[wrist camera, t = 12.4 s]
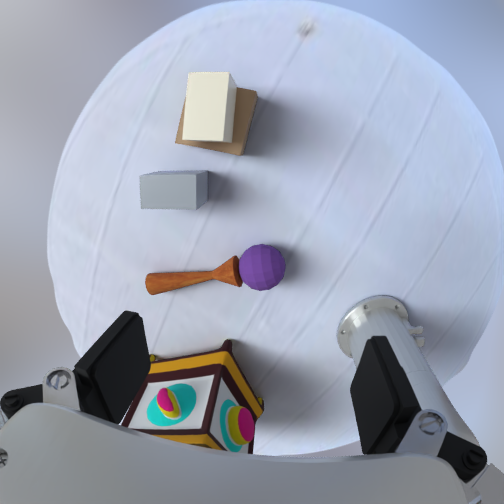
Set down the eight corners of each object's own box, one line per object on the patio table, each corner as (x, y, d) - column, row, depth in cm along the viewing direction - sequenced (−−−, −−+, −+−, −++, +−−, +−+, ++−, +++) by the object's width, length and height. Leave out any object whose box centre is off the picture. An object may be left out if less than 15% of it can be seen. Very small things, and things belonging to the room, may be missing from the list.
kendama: (135, 269, 37) (277, 244, 32) (156, 260, 42) (282, 237, 38) (147, 309, 38) (287, 293, 33) (165, 296, 43) (289, 279, 39)
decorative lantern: (186, 413, 53) (153, 528, 25) (138, 348, 47) (66, 479, 19) (273, 402, 49) (267, 541, 21) (235, 328, 43) (198, 512, 15)
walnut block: (257, 97, 32) (256, 91, 28) (243, 155, 34) (239, 155, 31) (198, 87, 31) (190, 80, 28) (184, 143, 34) (175, 143, 30)
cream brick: (203, 85, 28) (188, 72, 22) (237, 85, 28) (229, 72, 22) (198, 141, 30) (182, 139, 25) (231, 142, 30) (222, 140, 25)
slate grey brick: (208, 170, 35) (196, 174, 30) (207, 200, 37) (196, 209, 31) (158, 171, 36) (139, 175, 30) (159, 199, 37) (141, 208, 31)
